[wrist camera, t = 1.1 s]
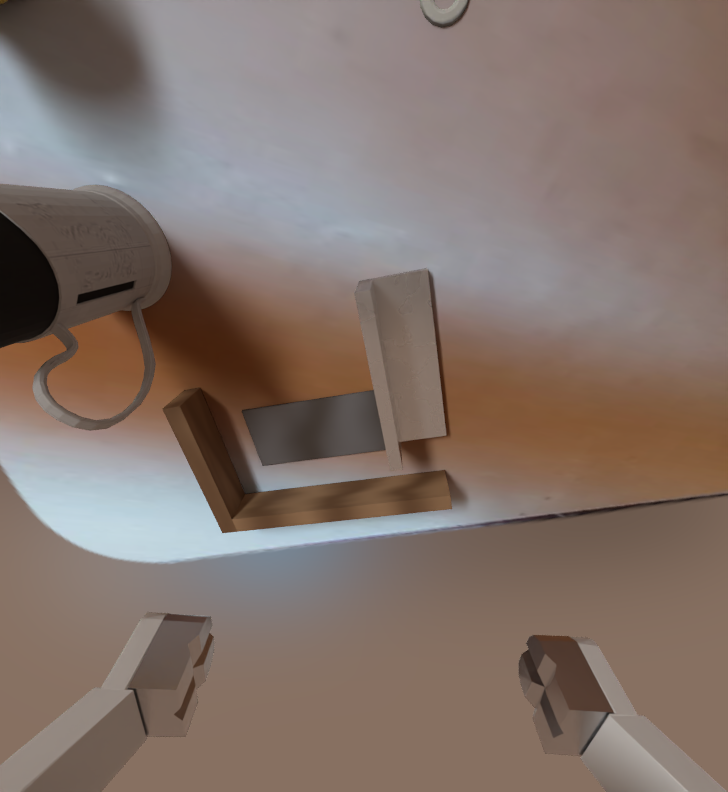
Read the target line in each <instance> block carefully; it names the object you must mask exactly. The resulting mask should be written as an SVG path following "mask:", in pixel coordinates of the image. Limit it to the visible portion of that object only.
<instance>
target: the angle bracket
mask: <svg viewBox="0 0 728 792" xmlns="http://www.w3.org/2000/svg"><path fill="white" fill-rule="evenodd" d="M355 298H356V303H357V308H358V313H359V318H360V323H361V328H362V333H363V338H364V343H365V348H366V353H367V358H368V363H369V368H370V373H371V378H372V383H373V388H374V393H375V398H376V403H377V408H378V413H379V418H380V423H381V428H382V433H383V438H384V443H385V448H386V453H387V458H388V463H389V468H390V471H396V470H403V466H402V451H401V442H402V441H409V440H417V439H424V438H432V437H440V436H447V435H446V426H445V417H444V409H443V400H442V391H441V382H440V373H439V365H438V356H437V347H436V338H435V329H434V321H433V312H432V303H431V294H430V285H429V277H428V269H427V268H424V269H419V270H414V271H409V272H404V273H399V274H393V275H388V276H383V277H378V278H373V279H368V280H362V281H359V283H358V286H357V288H356V290H355Z"/></svg>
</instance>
